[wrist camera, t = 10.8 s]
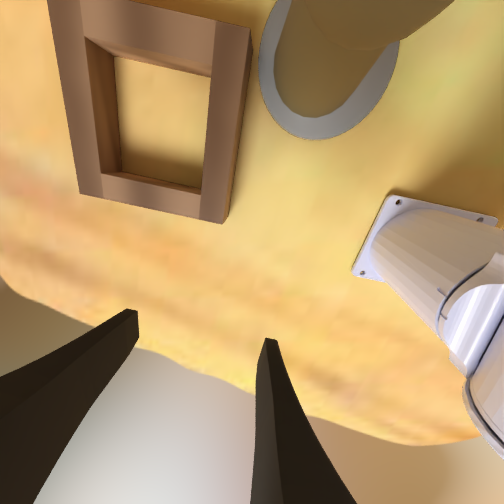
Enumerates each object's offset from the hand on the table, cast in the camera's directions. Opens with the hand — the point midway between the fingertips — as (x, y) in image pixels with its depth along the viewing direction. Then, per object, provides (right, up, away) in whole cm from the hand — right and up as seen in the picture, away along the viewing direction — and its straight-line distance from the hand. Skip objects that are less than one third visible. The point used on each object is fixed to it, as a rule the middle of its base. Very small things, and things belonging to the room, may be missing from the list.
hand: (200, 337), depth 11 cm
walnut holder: (-4, +15, +5) cm, 16 cm away
